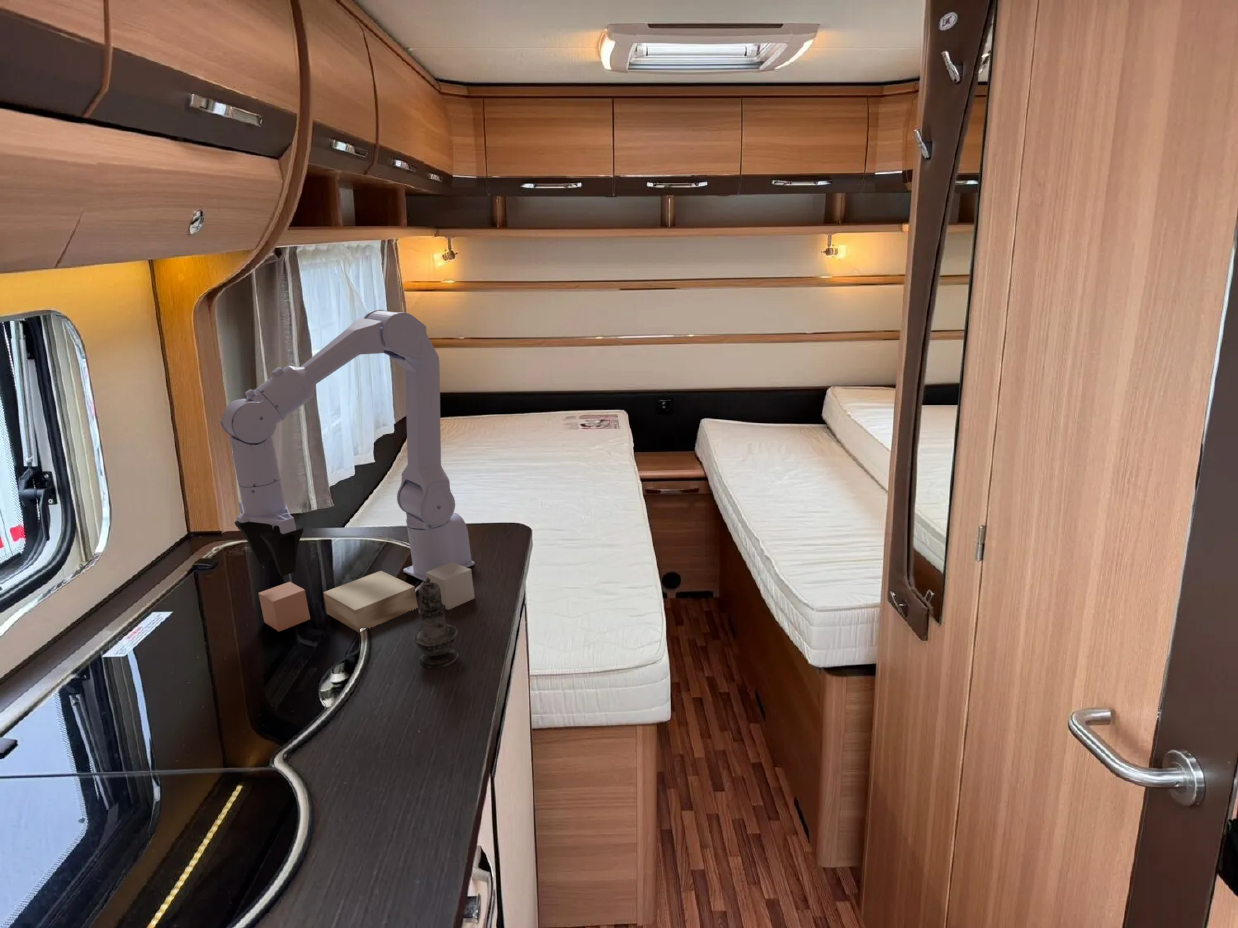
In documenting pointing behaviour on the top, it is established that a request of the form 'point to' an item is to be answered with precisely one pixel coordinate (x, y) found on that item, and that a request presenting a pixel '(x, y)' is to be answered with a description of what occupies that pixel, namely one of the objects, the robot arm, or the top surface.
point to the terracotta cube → (284, 606)
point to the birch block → (370, 600)
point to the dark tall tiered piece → (435, 629)
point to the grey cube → (453, 584)
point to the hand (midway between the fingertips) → (276, 567)
